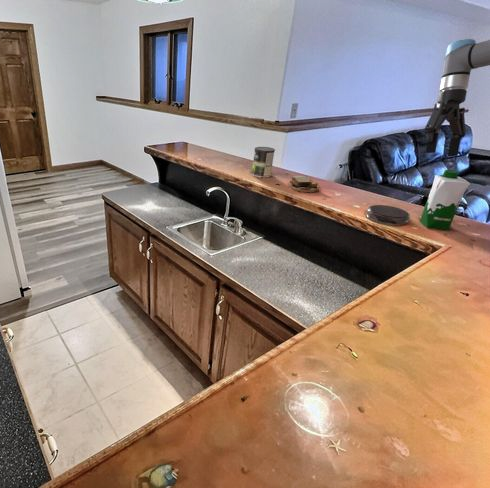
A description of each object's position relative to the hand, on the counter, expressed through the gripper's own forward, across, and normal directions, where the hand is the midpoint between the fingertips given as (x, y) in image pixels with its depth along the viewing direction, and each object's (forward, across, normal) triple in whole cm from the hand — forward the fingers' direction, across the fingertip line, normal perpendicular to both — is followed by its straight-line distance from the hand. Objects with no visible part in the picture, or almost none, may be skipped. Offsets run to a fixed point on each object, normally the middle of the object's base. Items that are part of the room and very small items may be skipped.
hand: (441, 154), depth 123 cm
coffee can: (+8, +14, -78) cm, 80 cm away
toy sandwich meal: (+14, +10, -52) cm, 55 cm away
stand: (+24, +7, -12) cm, 28 cm away
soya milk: (+26, -4, 0) cm, 26 cm away
